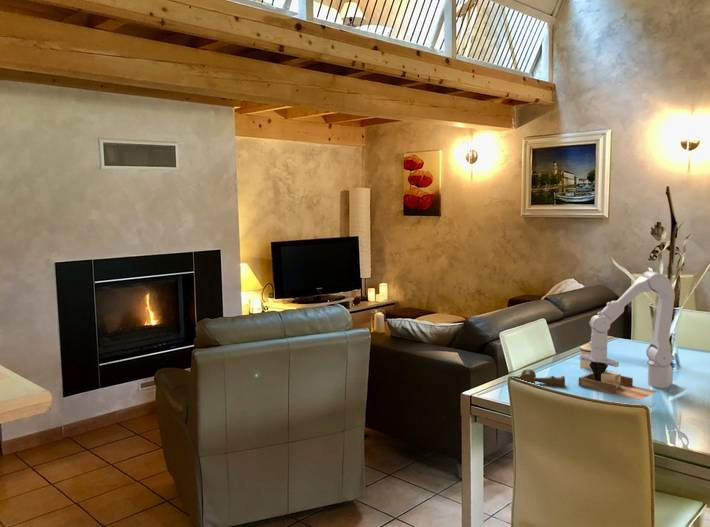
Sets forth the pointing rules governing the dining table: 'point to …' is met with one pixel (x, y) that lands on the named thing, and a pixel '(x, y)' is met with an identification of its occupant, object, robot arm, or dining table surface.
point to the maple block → (611, 378)
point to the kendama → (531, 377)
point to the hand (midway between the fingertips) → (598, 381)
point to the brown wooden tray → (623, 390)
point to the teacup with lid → (585, 351)
